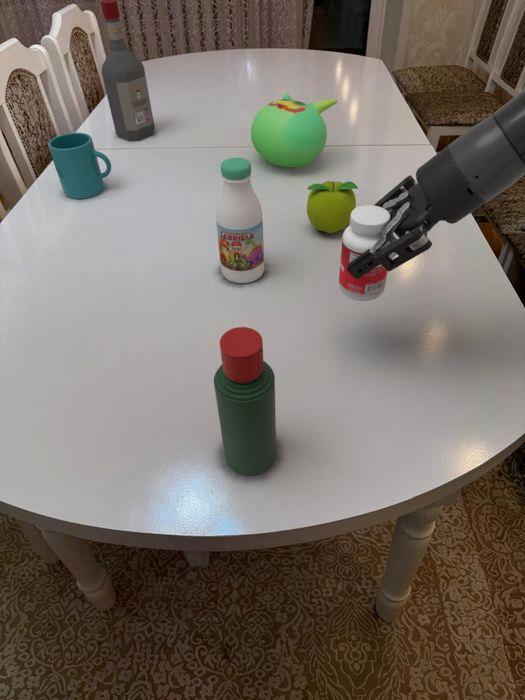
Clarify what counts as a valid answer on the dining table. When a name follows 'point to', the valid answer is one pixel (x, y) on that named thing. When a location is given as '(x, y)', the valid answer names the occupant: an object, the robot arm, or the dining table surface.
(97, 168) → the cup
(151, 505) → the dining table surface
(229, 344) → the cap
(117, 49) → the liquor
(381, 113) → the dining table surface
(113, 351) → the dining table surface
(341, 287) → the pill bottle
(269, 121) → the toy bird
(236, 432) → the bottle
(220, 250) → the milk bottle
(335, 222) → the fruit
